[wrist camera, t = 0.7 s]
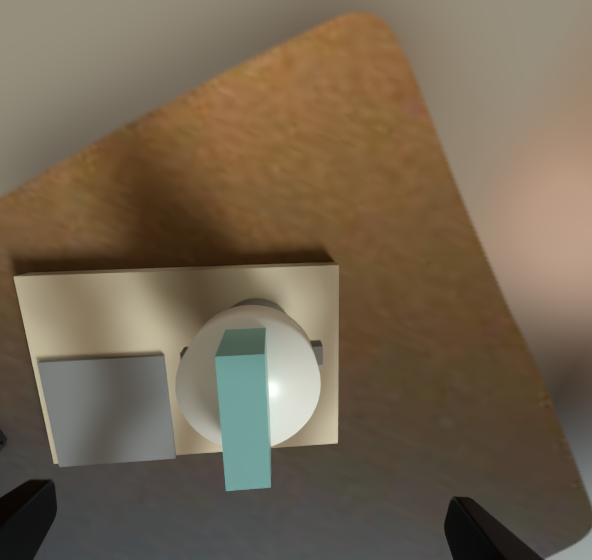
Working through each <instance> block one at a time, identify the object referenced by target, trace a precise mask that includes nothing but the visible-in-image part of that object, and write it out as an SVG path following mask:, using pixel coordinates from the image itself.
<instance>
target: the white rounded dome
mask: <svg viewBox="0 0 592 560" xmlns="http://www.w3.org/2000/svg"><path fill="white" fill-rule="evenodd" d="M320 388H321V380H320V372H319V368H318V364H317V361H316V358H315V354H314V351H313V347H312V345H311V342H310V340H309V338H308V336H307V334H306V332H305V331H304V330H303V328H302V327H301V326H300V325H299V324H298V323H297V322H296V321H295V320H294V319H292V318H291V317H290V316H288V315H287V314H285V313H283V312H281V311H279V310H277V309H274V308H271V307H267V306H261V305H242V306H237V307H232V308H230V309H227V310H224V311H222V312H220V313H218V314H216V315H215V316H214V317H212V318H211V319H209V320H208V321H207V322H206V323H205V324H204V325H203V326H202V327H201V329H200V330H199V331H198V333H197V334H196V336H195V337H194V339H193V341H192V342H191V344H190V346H189V347H188V349H187V350H186V352H185V354H184V355H183V357H182V359H181V361H180V364H179V366H178V370H177V374H176V381H175V389H176V397H177V401H178V404H179V407H180V410H181V412H182V414H183V416H184V417H185V419H186V420H187V421H188V423H189V424H190V425H191V426H192V427H193V428H194V430H195V431H197V432H198V433H199V434H200V435H202V436H203V437H205V438H206V439H208V440H209V441H211V442H213V443H216V444H218V445H221V446H222V448H223V460H224V472H225V484H226V491H232V490H245V489H257V488H269V487H271V446H274V445H276V444H279V443H281V442H283V441H285V440H287V439H289V438H290V437H292V436H293V435H294V434H296V433H297V432H298V431H299V430H300V429H301V428H302V427H303V426H304V425H305V424H306V423H307V422H308V420H309V419H310V417H311V416H312V414H313V412H314V410H315V408H316V406H317V403H318V400H319V395H320Z"/></svg>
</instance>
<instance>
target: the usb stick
mask: <svg viewBox="0 0 592 560" xmlns="http://www.w3.org/2000/svg"><path fill="white" fill-rule="evenodd" d="M6 441H7V438H6V436H5V435H4V433H3V432H2V431H1V430H0V451H1V450H2V449H3V447H4V446H5V445H6Z"/></svg>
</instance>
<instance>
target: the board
mask: <svg viewBox="0 0 592 560" xmlns="http://www.w3.org/2000/svg"><path fill="white" fill-rule="evenodd" d="M14 281H15V286H16V290H17V295H18V300H19V304H20V309H21V313H22V318H23V323H24V327H25V332H26V336H27V341H28V346H29V350H30V355H31V360H32V364H33V369H34V373H35V378H36V383H37V387H38V392H39V397H40V401H41V406H42V410H43V415H44V420H45V424H46V429H47V433H48V438H49V443H50V447H51V452H52V457H53V461H54V464H59V467H67V466H80V465H94V464H107V463H121V462H134V461H148V460H161V459H175V457H176V455H183V454H196V453H210V452H223V448H222V446H221V445H218V444H216V443H213V442H211V441H209V440H208V439H206V438H205V437H203V436H202V435H200V434H199V433H198V432H197V431H195V430H194V428H193V427H192V426H191V425H190V424H189V423H188V421H187V420H186V419H185V417H184V416H183V414H182V412H181V410H180V407H179V404H178V401H177V397H176V389H175V381H176V374H177V370H178V366H179V364H180V361H181V359H182V357H183V355H184V354H185V352H186V350H187V349H188V347H189V346H190V344H191V342H192V341H193V339H194V337H195V336H196V334H197V333H198V331H199V330H200V329H201V327H202V326H203V325H204V324H205V323H206V322H207V321H208V320H209V319H211V318H212V317H214V316H215V315H216V314H218V313H220V312H222V311H224V310H227V309H230V308H232V307H237V306H242V305H261V306H267V307H271V308H274V309H277V310H279V311H281V312H283V313H285V314H287V315H288V316H290V317H291V318H292V319H294V320H295V321H296V322H297V323H298V324H299V325H300V326H301V327H302V328H303V330H304V331H305V332H306V334H307V336H308V338H309V340H310V342H311V345H312V347H313V351H314V354H315V358H316V361H317V364H318V368H319V372H320V380H321V388H320V395H319V400H318V403H317V406H316V408H315V410H314V412H313V414H312V416H311V417H310V419H309V420H308V422H307V423H306V424H305V425H304V426H303V427H302V428H301V429H300V430H299V431H298V432H297V433H296V434H294V435H293V436H292V437H290V438H289V439H287V440H285V441H283V442H281V443H279V444H276V445H274V446H271V448H278V447H292V446H306V445H319V444H333V443H338V332H339V265H338V264H337V263H336V262H317V263H288V264H259V265H230V266H201V267H171V268H142V269H113V270H84V271H55V272H29V273H25V274H21V275H17V276H14Z"/></svg>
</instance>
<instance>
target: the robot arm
mask: <svg viewBox="0 0 592 560" xmlns="http://www.w3.org/2000/svg"><path fill="white" fill-rule="evenodd" d="M56 512H57V502H56V490H55V482H54V481H53V480H52V479H47V478H33V479H30V480H28V481H26V482H25V483H23V484H21V485H20V486H18V487H17V488H15V489H13V490H12V491H10V492H9V493H7V494H5V495H4V496H2V497H0V560H33V559H34V557H35V555H36V553H37V551H38V550H39V548H40V546H41V544H42V542H43V540H44V538H45V536H46V534H47V533H48V531H49V529H50V527H51V525H52V523H53V521H54V519H55V516H56ZM444 530H445V535H446V539H447V542H448V545H449V548H450V551H451V554H452V557H453V560H544V559H543V558H542V557H540V556H539V555H538V554H537V553H536V552H535V551H533V550H532V549H531V548H530V547H529V546H527V545H526V544H525V543H524V542H523V541H522V540H520V539H519V538H518V537H517V536H516V535H514V534H513V533H512V532H511V531H510V530H508V529H507V528H506V527H505V526H504V525H503V524H501V523H500V522H499V521H498V520H497V519H495V518H494V517H493V516H492V515H491V514H490V513H488V512H487V511H486V510H485V509H484V508H482V507H481V506H480V505H479V504H478V503H476V502H475V501H474V500H473V499H471V498H469V497H453V498H452V499H451V500H450V503H449V507H448V511H447V515H446V518H445V523H444Z"/></svg>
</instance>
